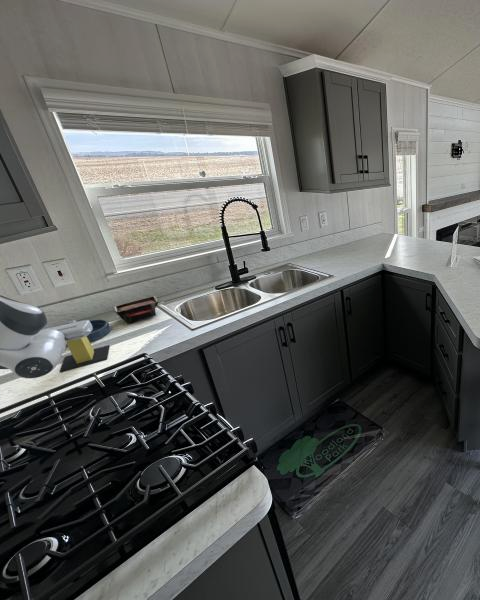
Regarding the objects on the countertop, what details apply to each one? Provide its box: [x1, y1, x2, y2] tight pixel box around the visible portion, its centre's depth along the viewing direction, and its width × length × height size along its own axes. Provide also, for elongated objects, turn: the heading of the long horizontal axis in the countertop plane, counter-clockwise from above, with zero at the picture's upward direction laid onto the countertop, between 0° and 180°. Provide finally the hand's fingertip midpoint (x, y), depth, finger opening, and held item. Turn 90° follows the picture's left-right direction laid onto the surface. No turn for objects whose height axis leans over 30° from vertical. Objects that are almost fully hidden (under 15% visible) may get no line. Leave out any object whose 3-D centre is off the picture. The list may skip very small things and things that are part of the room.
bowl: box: [66, 318, 112, 347], centre depth 146 cm, size 17×17×4 cm
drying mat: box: [59, 344, 111, 373], centre depth 131 cm, size 14×12×1 cm
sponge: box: [67, 336, 94, 364], centre depth 128 cm, size 4×7×12 cm, turn 35°
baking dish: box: [113, 295, 159, 325], centre depth 163 cm, size 14×18×10 cm
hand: (55, 326), depth 114 cm, fingers open, 8 cm apart
